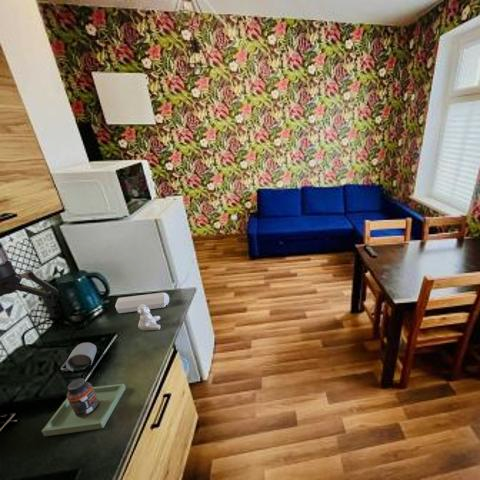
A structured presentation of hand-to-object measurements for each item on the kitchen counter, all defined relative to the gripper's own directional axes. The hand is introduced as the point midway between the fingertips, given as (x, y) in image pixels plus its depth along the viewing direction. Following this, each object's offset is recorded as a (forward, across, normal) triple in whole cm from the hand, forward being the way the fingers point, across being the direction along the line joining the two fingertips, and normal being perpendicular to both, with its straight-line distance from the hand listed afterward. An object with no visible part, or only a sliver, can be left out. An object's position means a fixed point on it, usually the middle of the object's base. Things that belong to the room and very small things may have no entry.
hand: (22, 327), depth 79 cm
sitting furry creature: (+29, +34, +10) cm, 46 cm away
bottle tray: (+29, +4, -15) cm, 33 cm away
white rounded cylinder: (+29, +39, +28) cm, 56 cm away
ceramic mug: (+29, +8, +9) cm, 31 cm away
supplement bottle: (+28, +4, -15) cm, 32 cm away
